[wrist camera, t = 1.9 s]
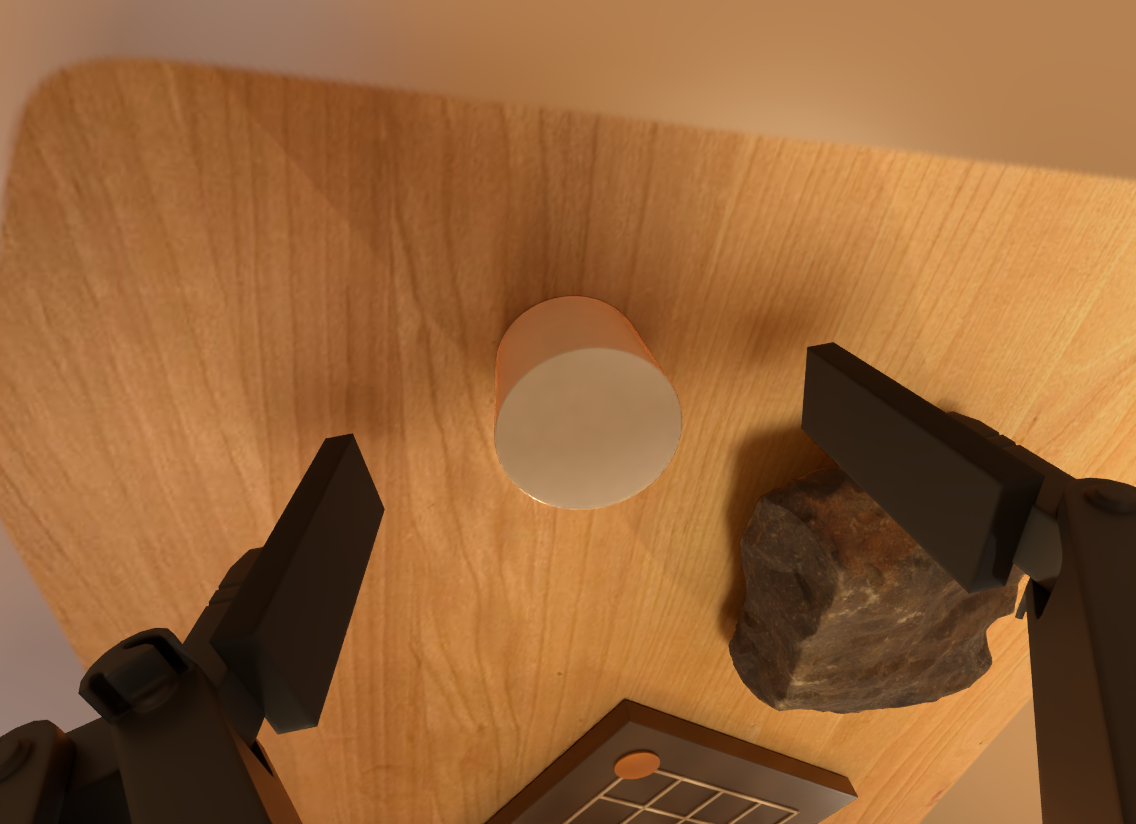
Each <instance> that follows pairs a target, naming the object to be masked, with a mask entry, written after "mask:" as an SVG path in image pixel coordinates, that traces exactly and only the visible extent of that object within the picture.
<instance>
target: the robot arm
mask: <svg viewBox="0 0 1136 824" xmlns="http://www.w3.org/2000/svg"><path fill="white" fill-rule="evenodd" d="M801 429H802V430H803V431H804V432H805V433H806V434H807V435H808V436H809V437H810V438H811V439H812V440H813V441H814V442H815V443H816V444H817V445H818V446H819V447H820V448H821V449H822V450H823V451H824V452H825V453H826V454H827V455H828V456H829V457H831V458H832V459H833V460H834V461H835V462H836V463H837V464H838V465H839V466H840V467H841V468H842V469H843V470H844V471H845V472H846V473H847V474H848V475H849V476H850V477H851V478H852V479H853V480H854V481H855V482H856V483H857V484H858V485H859V486H860V487H861V488H862V489H863V490H864V491H865V492H866V493H867V494H868V495H869V496H870V497H871V498H872V499H873V500H874V501H875V502H876V503H877V504H878V505H879V506H880V507H881V508H882V509H883V510H884V511H885V512H886V513H887V514H888V515H889V516H890V517H891V518H892V519H893V520H894V521H895V522H896V523H898V524H899V525H900V526H901V527H902V528H903V529H904V530H905V531H906V532H907V533H908V534H909V535H910V536H911V537H912V538H913V539H914V540H915V541H916V542H917V543H918V544H919V545H920V546H921V547H922V548H923V549H924V550H925V551H926V552H927V553H928V554H929V555H930V556H931V557H932V558H933V559H934V560H935V561H936V562H937V563H938V564H939V565H940V566H941V567H942V568H943V569H944V570H945V571H946V572H947V573H948V574H949V575H950V576H951V577H952V578H953V579H954V580H955V581H956V582H957V583H958V584H959V585H960V586H961V587H962V588H963V589H965V590H966V591H967V592H968V593H974V592H979V591H984V590H989V589H994V588H999V587H1004V586H1006V583H1007V580H1008V578H1009V575H1010V572H1011V569H1012V567H1013V564H1015V565H1017V566H1018V567H1019V568H1020V569H1021V570H1022V571H1024V572H1025V573H1026V574H1027V575H1028V576H1030V579H1029V581H1028V584H1027V586H1026V589H1025V591H1024V594H1023V597H1022V599H1021V602H1020V604H1019V607H1018V609H1017V612H1016V616H1015V618H1019V619H1023V616H1024V614H1025V612H1027V621H1028V634H1029V647H1030V661H1031V674H1032V688H1033V700H1034V713H1035V727H1036V741H1037V754H1038V768H1039V781H1040V795H1041V807H1042V821H1043V824H1136V487H1134V486H1131V485H1129V484H1125V483H1121V482H1117V481H1113V480H1109V479H1099V478H1083V479H1075V478H1074V477H1072V476H1070V475H1069V474H1067V473H1065V472H1064V471H1062V470H1060V469H1059V468H1057V467H1055V466H1054V465H1052V464H1050V463H1049V462H1047V461H1045V460H1044V459H1042V458H1040V457H1039V456H1037V455H1035V454H1034V453H1032V452H1030V451H1029V450H1027V449H1026V448H1024V447H1022V446H1021V445H1016V444H1015V442H1014V441H1012V440H1011V439H1009V438H1007V437H1006V436H1004V435H999V432H997V431H996V430H994V429H992V428H991V427H989V426H987V425H986V424H984V423H982V422H981V421H979V420H976V419H973V418H970V417H967V416H965V415H962V414H959V413H956V412H948V413H945V412H943V411H942V410H940V409H939V408H937V407H935V406H934V405H932V404H931V403H929V402H928V401H926V400H924V399H923V398H921V397H920V396H918V395H916V394H915V393H913V392H912V391H910V390H908V389H907V388H905V387H904V386H902V385H900V384H899V383H897V382H896V381H894V380H893V379H891V378H889V377H888V376H886V375H885V374H883V373H881V372H880V371H878V370H877V369H875V368H873V367H872V366H870V365H869V364H867V363H866V362H864V361H862V360H861V359H859V358H858V357H856V356H854V355H853V354H851V353H850V352H848V351H846V350H845V349H843V348H842V347H840V346H839V345H837V344H835V343H834V342H832V343H827V344H821V345H816V346H811V347H807V359H806V372H805V385H804V399H803V412H802V425H801ZM384 510H385V509H384V507H383V504H382V502H381V500H380V497H379V495H378V492H377V490H376V488H375V485H374V483H373V480H372V478H371V476H370V473H369V471H368V468H367V466H366V464H365V461H364V459H363V456H362V454H361V452H360V449H359V447H358V444H357V442H356V440H355V437H354V435H353V433H352V434H347V435H342V436H336V437H331V438H326V439H325V441H324V442H323V444H322V446H321V448H320V449H319V451H318V453H317V455H316V456H315V458H314V460H313V461H312V463H311V465H310V467H309V468H308V470H307V472H306V474H305V475H304V477H303V479H302V481H301V482H300V484H299V486H298V487H297V489H296V491H295V493H294V494H293V496H292V498H291V500H290V501H289V503H288V505H287V507H286V508H285V510H284V512H283V514H282V515H281V517H280V519H279V520H278V522H277V524H276V526H275V527H274V529H273V531H272V533H271V534H270V536H269V538H268V540H267V541H266V543H265V545H264V546H263V547H261V548H256V549H250V550H249V551H248V552H247V553H245V554H244V555H243V556H242V557H241V558H240V559H239V560H238V561H237V562H236V563H235V564H234V565H233V566H232V567H231V568H230V569H229V571H228V572H227V574H226V576H225V577H224V579H223V580H222V582H221V584H220V585H219V590H217V591H216V592H215V593H214V595H213V596H212V598H211V600H210V601H209V606H206V608H205V609H204V611H203V612H202V614H201V616H200V617H199V619H198V620H197V622H196V624H195V625H194V627H193V628H192V630H191V632H190V633H189V635H188V636H187V638H186V640H185V641H184V643H183V644H182V643H181V642H180V641H179V639H178V638H177V637H176V636H175V634H174V633H172V632H171V631H170V630H169V629H168V628H153V629H150V630H146V631H142V632H139V633H137V634H135V635H133V636H131V637H129V638H127V639H125V640H123V641H121V642H120V643H118V644H117V645H116V646H114V647H113V648H111V649H110V650H108V651H107V652H106V653H104V654H103V655H102V656H101V657H100V658H99V659H98V660H97V661H96V662H95V663H94V664H93V665H92V666H91V667H90V668H89V670H88V671H87V673H86V674H85V676H84V677H83V679H82V680H81V683H80V688H79V695H81V696H82V697H83V698H84V699H85V700H86V701H87V702H88V703H89V704H90V705H91V706H92V707H93V708H94V709H95V710H96V711H97V712H98V713H99V714H100V715H101V716H102V717H101V718H99V719H96V720H94V721H92V722H90V723H87V724H85V725H83V726H81V727H79V728H76V729H74V730H72V731H70V732H67V733H64V732H63V731H62V730H61V729H59V727H57V726H56V725H55V724H54V723H52V722H50V721H48V720H41V721H33V722H30V723H27V724H25V725H22V726H20V727H17V728H15V729H13V730H12V731H10V732H8V733H7V734H5V735H3V736H2V737H0V824H302V822H301V820H300V818H299V816H298V814H297V812H296V810H295V808H294V806H293V804H292V802H291V800H290V798H289V796H288V794H287V792H286V790H285V788H284V787H283V785H282V783H281V781H280V779H279V777H278V775H277V773H276V771H275V769H274V767H273V765H272V763H271V761H270V759H269V757H268V755H267V753H266V751H265V749H264V748H263V746H262V745H261V743H260V742H259V741H258V740H257V738H256V737H257V735H258V732H259V730H260V727H261V725H262V722H263V720H264V717H265V718H266V719H267V721H268V722H269V723H270V725H271V726H272V727H273V729H274V730H275V731H276V733H277V734H282V733H287V732H292V731H297V730H302V729H307V728H312V727H316V726H317V725H318V722H319V719H320V715H321V712H322V709H323V706H324V703H325V699H326V696H327V693H328V690H329V686H330V683H331V680H332V677H333V674H334V670H335V667H336V664H337V661H338V658H339V654H340V651H341V648H342V645H343V641H344V638H345V635H346V632H347V629H348V625H349V622H350V619H351V616H352V613H353V609H354V606H355V603H356V600H357V596H358V593H359V590H360V587H361V584H362V580H363V577H364V574H365V571H366V568H367V564H368V561H369V558H370V555H371V551H372V548H373V545H374V542H375V539H376V535H377V532H378V529H379V526H380V523H381V519H382V516H383V513H384Z"/></svg>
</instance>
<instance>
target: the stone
mask: <svg viewBox="0 0 1136 824" xmlns="http://www.w3.org/2000/svg"><path fill="white" fill-rule="evenodd" d="M740 550H741V567H742V571H743V572H744V574H745V582H746V589H747V592H746V596H745V599H744V608H743V610H742V613H741V616H740V618H739V620H738V622H737V624H736V630H735V632H734V634H733V637H732V639H731V641H730V643H729V651H730V655H731V657H732V660H733V665H734V667H735V669H736V670H737V672H738V674H739V676H740V678H741V679H742V681H743V683H744V684H745V685H746V686H747V687H748V688H749V689H750V690H751V692H752V693H753V694H754V695H755V696H756V697H757V698H758V699H760V700H761V701H762V702H764V703H766V704H767V705H769V706H771V707H772V708H774V709H776V710H778V711H783V710H793V709H806V710H810V709H813V710H817V711H822V712H826V711H831V712H834V713H840V714H845V713H859V712H862V711H865V710H874V709H885V708H900V707H906V706H911V705H916V704H921V703H926V702H935V701H937V700H938V699H940V698H941V697H944V696H948V695H951V694H954V693H956V692H959V691H961V690H964V689H966V688H969V687H970V686H971V685H972V684H973V683H974V682H975V681H976V680H978V679H979V678H980V677H981V676H982V675H984V674H985V673H986V672H987V671H988V670H989V668H990V667H991V665H992V657H991V654H990V651H989V648H988V643H987V637H986V630H987V628H988V627H989V626H990V625H991V624H992V623H993V622H994V621H995V620H997V619H998V618H1000V617H1003V616H1007V615H1010V614H1011V613H1013V612H1014V608H1015V602H1016V598H1017V592H1018V583H1019V581H1020V580H1021V578H1022V577H1023V576H1024V575H1025V574H1026V573H1025V572H1024V571H1022V570H1021V569H1020V568H1019V567H1018V566H1017V565H1015V564H1013V567H1012V569H1011V572H1010V575H1009V578H1008V580H1007V583H1006V586H1004V587H999V588H994V589H989V590H984V591H979V592H974V593H968V592H967V591H966V590H965V589H963V588H962V587H961V586H960V585H959V584H958V583H957V582H956V581H955V580H954V579H953V578H952V577H951V576H950V575H949V574H948V573H947V572H946V571H945V570H944V569H943V568H942V567H941V566H940V565H939V564H938V563H937V562H936V561H935V560H934V559H933V558H932V557H931V556H930V555H929V554H928V553H927V552H926V551H925V550H924V549H923V548H922V547H921V546H920V545H919V544H918V543H917V542H916V541H915V540H914V539H913V538H912V537H911V536H910V535H909V534H908V533H907V532H906V531H905V530H904V529H903V528H902V527H901V526H900V525H899V524H898V523H896V522H895V521H894V520H893V519H892V518H891V517H890V516H889V515H888V514H887V513H886V512H885V511H884V510H883V509H882V508H881V507H880V506H879V505H878V504H877V503H876V502H875V501H874V500H873V499H872V498H871V497H870V496H869V495H868V494H867V493H866V492H865V491H864V490H863V489H862V488H861V487H860V486H859V485H858V484H857V483H856V482H855V481H854V480H853V479H852V478H851V477H850V476H849V475H848V474H847V473H846V472H845V471H844V470H843V469H842V468H841V467H840V466H830V467H825V468H819V469H816V470H814V471H812V472H810V473H807V474H805V475H803V476H801V477H799V478H798V479H793V480H792V481H791V482H789V483H788V484H787V485H786V486H784V487H782V488H778V489H775V490H773V491H771V492H769V493H768V494H766V495H764V496H762V497H761V498H760V500H759V501H758V502H757V504H756V506H755V512H754V514H753V516H752V517H751V518H750V520H749V522H748V525H747V527H746V529H745V531H744V533H743V535H742V538H741V543H740Z"/></svg>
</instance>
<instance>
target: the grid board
mask: <svg viewBox="0 0 1136 824" xmlns="http://www.w3.org/2000/svg"><path fill="white" fill-rule="evenodd" d="M857 798H858V796H857V794H856V792H855V790H854V788H853V786H852V785H851V783H850V781H849V779H848V778H846V777H843V776H840V775H837V774H834V773H832V772H829V771H826V770H823V769H820V768H817V767H814V766H812V765H809V764H806V763H803V762H800V761H797V760H795V759H792V758H789V757H786V756H783V755H780V754H778V753H775V752H772V751H769V750H766V749H763V748H761V747H758V746H755V745H752V744H749V743H746V742H743V741H741V740H738V739H735V738H732V737H729V736H726V735H724V734H721V733H718V732H715V731H712V730H709V729H707V728H704V727H701V726H698V725H695V724H692V723H689V722H687V721H684V720H681V719H678V718H675V717H672V716H670V715H667V714H664V713H661V712H658V711H655V710H653V709H650V708H647V707H644V706H641V705H638V704H635V703H633V702H630V701H627V700H624V701H623V702H622V703H621V704H620V705H619V706H618V707H616V708H615V709H614V710H613V711H612V712H611V713H610V714H609V715H607V716H606V717H605V718H604V719H603V720H602V721H601V722H600V723H598V724H597V725H596V726H595V727H594V728H593V729H592V730H591V731H589V732H588V733H587V734H586V735H585V736H584V737H583V738H582V739H580V740H579V741H578V742H577V743H576V744H575V745H574V746H573V747H571V748H570V749H569V750H568V751H567V752H566V753H565V754H564V755H562V756H561V757H560V758H559V759H558V760H557V761H556V762H555V763H553V764H552V765H551V766H550V767H549V768H548V769H547V770H546V771H544V772H543V773H542V774H541V775H540V776H539V777H538V778H537V779H535V780H534V781H533V782H532V783H531V784H530V785H529V786H528V787H526V788H525V789H524V790H523V791H522V792H521V793H520V794H519V795H518V796H516V797H515V798H514V799H513V800H512V801H511V802H510V803H509V804H507V805H506V806H505V807H504V808H503V809H502V810H501V811H500V812H498V813H497V814H496V815H495V816H494V817H493V818H492V819H491V820H489V821H488V822H487V823H486V824H818V823H819V822H821V821H822V820H824V819H826V818H827V817H829V816H830V815H832V814H833V813H835V812H836V811H838V810H840V809H841V808H843V807H844V806H846V805H847V804H849V803H851V802H852V801H854V800H855V799H857Z"/></svg>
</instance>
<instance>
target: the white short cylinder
mask: <svg viewBox="0 0 1136 824" xmlns="http://www.w3.org/2000/svg"><path fill="white" fill-rule="evenodd" d="M681 429H682V412H681V406H680V402H679V399H678V396H677V394H676V392H675V389H674V387H673V386H672V384H671V383H670V381H669V380H668V378H667V377H666V375H665V374H664V372H663V371H662V369H661V368H660V366H659V365H658V363H657V362H656V360H655V359H654V357H653V356H652V354H651V353H650V351H649V350H648V348H647V347H646V345H645V344H644V342H643V341H642V339H641V338H640V336H639V335H638V333H637V332H636V330H635V329H634V327H633V326H632V324H631V323H630V321H629V320H628V319H627V318H626V317H625V316H624V315H623V314H622V313H620V312H619V311H618V310H617V309H615V308H614V307H612V306H610V305H609V304H607V303H604V302H602V301H600V300H596V299H593V298H589V297H582V296H565V297H558V298H554V299H550V300H547V301H544V302H542V303H539V304H537V305H535V306H534V307H532V308H530V309H528V310H527V311H526V312H524V313H523V314H522V315H520V316H519V317H518V318H517V319H516V320H515V321H514V322H513V323H512V325H511V326H510V327H509V328H508V330H507V331H506V333H505V335H504V336H503V338H502V340H501V343H500V345H499V348H498V352H497V355H496V363H495V416H494V439H495V447H496V453H497V456H498V459H499V461H500V464H501V466H502V468H503V469H504V471H505V473H506V474H507V476H508V477H509V478H510V480H511V481H512V482H513V483H514V484H515V485H516V486H517V487H518V488H519V489H521V490H522V491H523V492H524V493H526V494H527V495H529V496H530V497H532V498H534V499H536V500H538V501H540V502H542V503H545V504H547V505H551V506H554V507H558V508H564V509H574V510H587V509H596V508H602V507H606V506H610V505H614V504H616V503H619V502H622V501H624V500H626V499H628V498H630V497H632V496H634V495H636V494H637V493H639V492H641V491H642V490H644V489H645V488H646V487H648V486H649V485H650V484H651V483H652V482H653V481H655V480H656V479H657V478H658V477H659V476H660V474H661V473H662V472H663V471H664V470H665V468H666V467H667V466H668V464H669V462H670V461H671V459H672V457H673V455H674V453H675V451H676V449H677V446H678V443H679V440H680V435H681Z"/></svg>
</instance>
